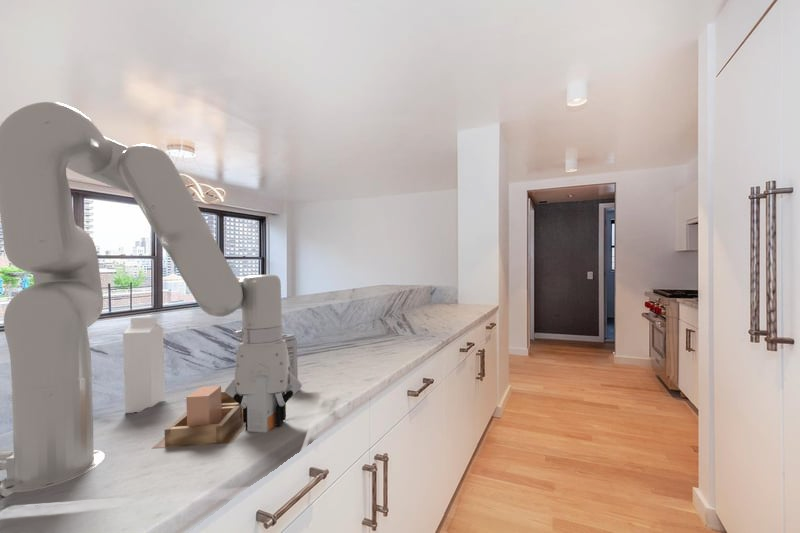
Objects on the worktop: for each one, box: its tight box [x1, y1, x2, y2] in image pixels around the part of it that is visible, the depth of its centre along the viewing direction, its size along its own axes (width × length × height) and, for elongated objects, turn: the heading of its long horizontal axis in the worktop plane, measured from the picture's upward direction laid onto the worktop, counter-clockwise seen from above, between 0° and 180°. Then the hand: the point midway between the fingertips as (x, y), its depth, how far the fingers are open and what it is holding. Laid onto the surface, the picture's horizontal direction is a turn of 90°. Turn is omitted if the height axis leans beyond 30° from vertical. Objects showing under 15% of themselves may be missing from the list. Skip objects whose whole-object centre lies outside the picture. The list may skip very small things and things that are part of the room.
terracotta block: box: [185, 385, 222, 426], centre depth 73 cm, size 4×6×8 cm, turn 5°
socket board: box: [152, 390, 246, 449], centre depth 78 cm, size 14×22×4 cm, turn 5°
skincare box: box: [246, 376, 278, 433], centre depth 75 cm, size 6×4×12 cm
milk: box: [122, 316, 166, 414], centre depth 90 cm, size 6×6×22 cm
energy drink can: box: [282, 333, 299, 393], centre depth 100 cm, size 6×6×15 cm
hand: (265, 423), depth 75 cm, fingers closed on skincare box, 5 cm apart
